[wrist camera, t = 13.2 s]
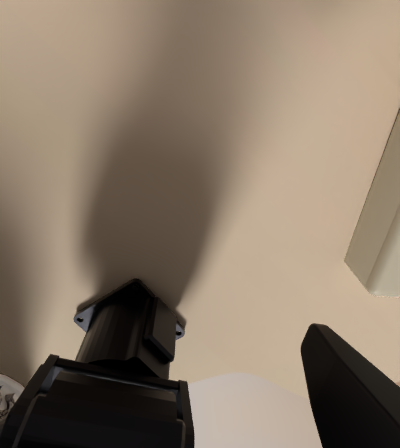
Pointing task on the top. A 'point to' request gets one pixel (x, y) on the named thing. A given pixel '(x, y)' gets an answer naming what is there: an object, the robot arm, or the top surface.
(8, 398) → the decorative candle
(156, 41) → the top surface
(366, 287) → the electrical outlet
